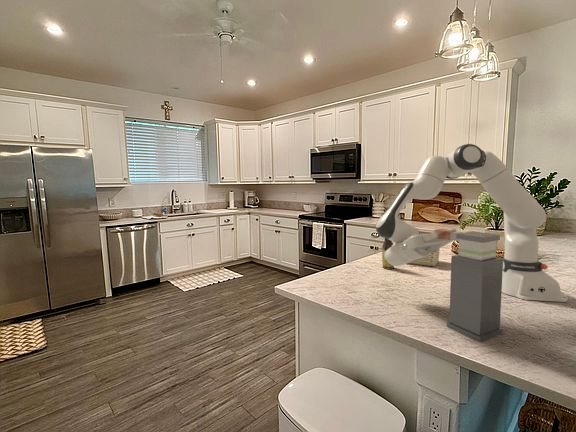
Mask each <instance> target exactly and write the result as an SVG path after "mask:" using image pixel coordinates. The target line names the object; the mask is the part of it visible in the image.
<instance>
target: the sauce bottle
mask: <svg viewBox="0 0 576 432" xmlns="http://www.w3.org/2000/svg"><path fill="white" fill-rule="evenodd" d="M393 243H394V242H392V241H390V240H389V239H386V238H384V242H383V244H382V252H381V253H382V256H381V257H382V260H381V263H382V268H383V269H386V270H392V269H394V267H395V266H393V265H391V264H389V263H388V262H387V260H386V259H385V256H384V254H385V252H386V250H388V249H389V248H390V247H392V245H393Z"/></svg>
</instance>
